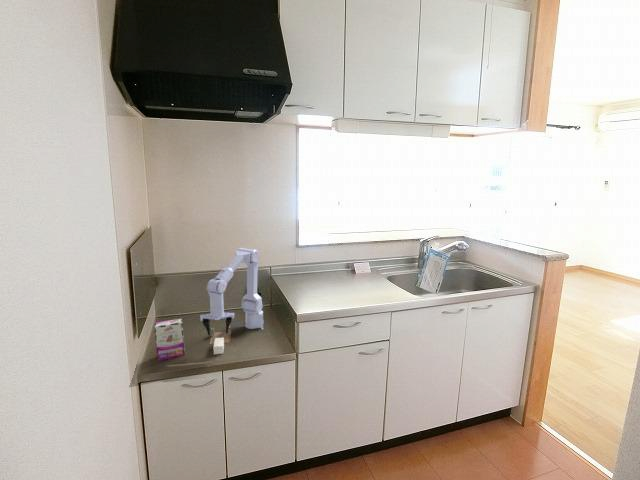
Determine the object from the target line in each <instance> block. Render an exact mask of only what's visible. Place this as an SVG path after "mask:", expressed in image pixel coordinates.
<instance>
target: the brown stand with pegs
mask: <svg viewBox="0 0 640 480" xmlns="http://www.w3.org/2000/svg"><path fill="white" fill-rule="evenodd" d="M231 330H232V329H231V328H228V334H226V331H217V332H215V327H210V340H209V345H212V344H213V345H214V341H215V338H223V337H224V344H227V343H231V341H232V339H231V338H232V331H231Z"/></svg>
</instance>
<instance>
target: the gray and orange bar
mask: <svg viewBox="0 0 640 480" xmlns="http://www.w3.org/2000/svg"><path fill="white" fill-rule="evenodd" d="M243 327H245V328H246V323H245V322H236V323H235V322H234V323H230V326H229V328H243Z"/></svg>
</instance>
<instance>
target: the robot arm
mask: <svg viewBox="0 0 640 480" xmlns="http://www.w3.org/2000/svg"><path fill="white" fill-rule="evenodd" d="M243 263H244V264H245V265H246V267H247V268H246V269H247V270H246V271H247V272H246V294H245V295H244V296H242V300H241V308H242V310H243V312H244V313H245V321H244V323H246V327H245V328H246V329H249V330H254V329H255V330H256V329H261V330H262V331H263V330H264V323H265V322H264V311H263V310H262V309H263V299H262V296H260V295H259V294H258V267H259V266H258V265H259V264H260V251H258V250H257V249H252V248H245V247H238V248H237V250H236V251H235V253H234V258H233V259H232V260H231V262H230V263H229V264H228V266H227V267H223V268H222V269H221V270H220V271H219V273H218V274H217V275H216V276H215V277H214V278H212V279H210V280H209V281H208V282H207V284H206V287H205V288H206V291H207V292H208V296H209V306H210V309H209V311H210V313H206V314H200V316H199V318H200V322H201V321H202V324H203V326H204V327H205V329H206V332H207V335H208V336H211V325H210V324H211V323H210V320H214V321H220V320H221V319H222V320H223V319H225V332H226V334H228V328H229V326H230V324H232V320H233V319H235V312H225V308H224V307H225V306H224V305H225V303H224V301H225V300H224V293H225V291H226V290H227V289H226V288H227V286H228V283H229V281H231V279H232V278H233V277H234V272H235V271H237V270H238V268H239V267H240V266H241V265H242V264H243Z"/></svg>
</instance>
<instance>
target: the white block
mask: <svg viewBox="0 0 640 480" xmlns="http://www.w3.org/2000/svg"><path fill="white" fill-rule="evenodd" d="M212 349H213V355H220V354H224V349H225V343H224V337H223V338H215V341H214V344H213V347H212Z"/></svg>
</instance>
